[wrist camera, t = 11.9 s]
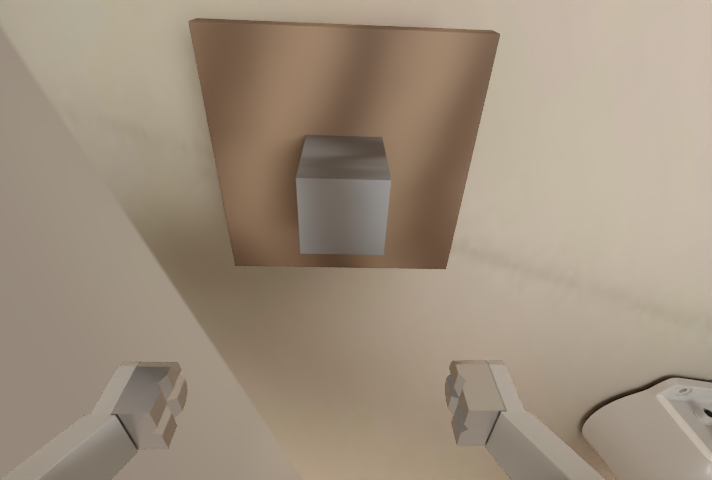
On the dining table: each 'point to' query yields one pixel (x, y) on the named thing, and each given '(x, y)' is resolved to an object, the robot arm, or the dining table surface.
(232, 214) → the lid
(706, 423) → the robot arm
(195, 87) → the dining table surface
